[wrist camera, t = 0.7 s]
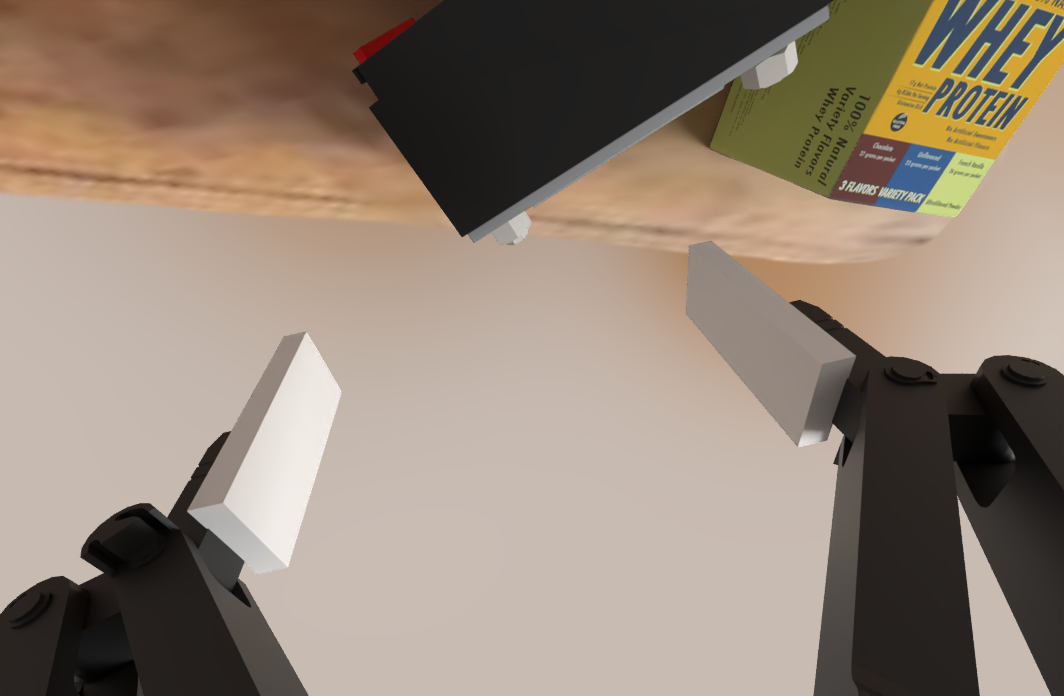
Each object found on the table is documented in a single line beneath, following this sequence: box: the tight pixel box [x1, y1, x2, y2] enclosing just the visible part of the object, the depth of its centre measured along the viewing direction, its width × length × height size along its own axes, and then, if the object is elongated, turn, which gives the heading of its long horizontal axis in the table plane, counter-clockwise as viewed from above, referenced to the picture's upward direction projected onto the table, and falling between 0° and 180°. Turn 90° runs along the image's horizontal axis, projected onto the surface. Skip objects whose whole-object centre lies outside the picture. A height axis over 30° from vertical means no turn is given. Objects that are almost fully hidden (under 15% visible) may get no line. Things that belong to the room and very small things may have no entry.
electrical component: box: [353, 0, 834, 245], centre depth 25 cm, size 18×10×20 cm, turn 120°
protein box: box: [710, 0, 1064, 218], centre depth 30 cm, size 10×15×16 cm
